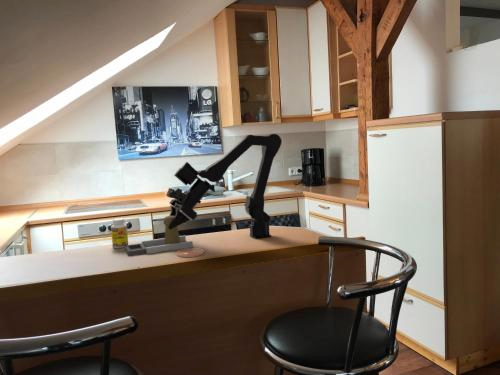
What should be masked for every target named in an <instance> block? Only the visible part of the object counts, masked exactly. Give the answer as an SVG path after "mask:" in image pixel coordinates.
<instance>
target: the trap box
mask: <svg viewBox="0 0 500 375" xmlns="http://www.w3.org/2000/svg"><path fill="white" fill-rule="evenodd" d="M124 249H125V252H126V254H127V256H129V257H130V256H135V255H143V254H147V252H146V247H145V246H144V245H143V244H142V242H140V243H135V244H128V245H125V247H124Z"/></svg>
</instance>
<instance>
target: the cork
mask: <svg viewBox="0 0 500 375" xmlns="http://www.w3.org/2000/svg"><path fill="white" fill-rule="evenodd" d="M174 217H175V216H169V215H167V216H164V218H163V224H164V228H165V230H164V238H165V241H164V244H163V245H167V244H174V243H181V242H180V237H179V236H180V234H179V229H178V228H179V227H178V226H176V227H174V228H173V229H169V228H168V227H169V225H170V223H171V222H172V220H173V218H174Z"/></svg>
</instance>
